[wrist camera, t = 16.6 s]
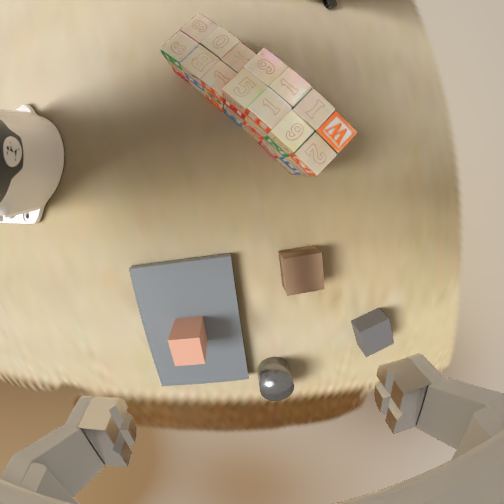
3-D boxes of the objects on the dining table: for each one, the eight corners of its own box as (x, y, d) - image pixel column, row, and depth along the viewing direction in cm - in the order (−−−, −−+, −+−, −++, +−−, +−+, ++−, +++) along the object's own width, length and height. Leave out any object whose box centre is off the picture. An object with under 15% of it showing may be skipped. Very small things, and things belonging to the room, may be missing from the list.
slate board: (163, 380, 46) (162, 385, 45) (132, 265, 41) (128, 268, 40) (248, 373, 47) (248, 378, 45) (230, 253, 42) (230, 256, 40)
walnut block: (282, 284, 43) (287, 295, 40) (278, 250, 42) (283, 258, 38) (316, 278, 44) (324, 289, 40) (313, 245, 42) (321, 252, 38)
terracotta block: (180, 342, 43) (174, 366, 37) (175, 318, 42) (167, 340, 36) (207, 340, 43) (205, 363, 37) (202, 315, 42) (199, 337, 36)
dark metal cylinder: (259, 383, 48) (262, 403, 43) (255, 359, 46) (258, 378, 41) (289, 378, 48) (294, 397, 43) (287, 354, 46) (293, 373, 42)
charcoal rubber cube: (357, 344, 47) (366, 357, 43) (350, 320, 46) (360, 332, 42) (383, 331, 47) (393, 343, 43) (378, 307, 46) (389, 318, 42)
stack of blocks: (172, 72, 35) (152, 37, 23) (205, 41, 34) (197, -3, 22) (292, 175, 40) (318, 177, 28) (323, 142, 39) (359, 132, 27)
